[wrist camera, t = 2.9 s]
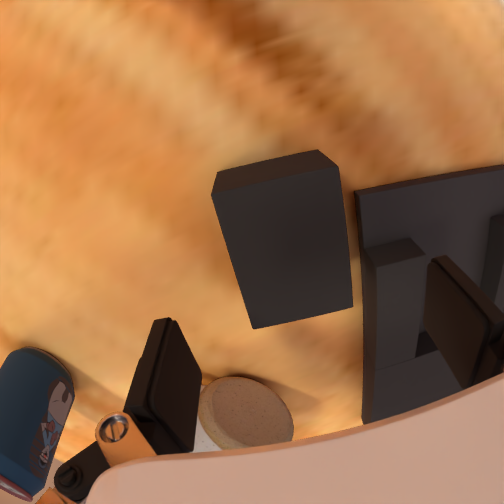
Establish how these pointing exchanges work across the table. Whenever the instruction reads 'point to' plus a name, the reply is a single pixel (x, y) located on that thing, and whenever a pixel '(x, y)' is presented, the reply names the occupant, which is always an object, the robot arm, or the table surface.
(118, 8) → the table surface
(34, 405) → the soda can
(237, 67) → the table surface
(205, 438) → the ceramic mug
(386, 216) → the pad base
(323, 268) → the loose pad
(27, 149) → the table surface
